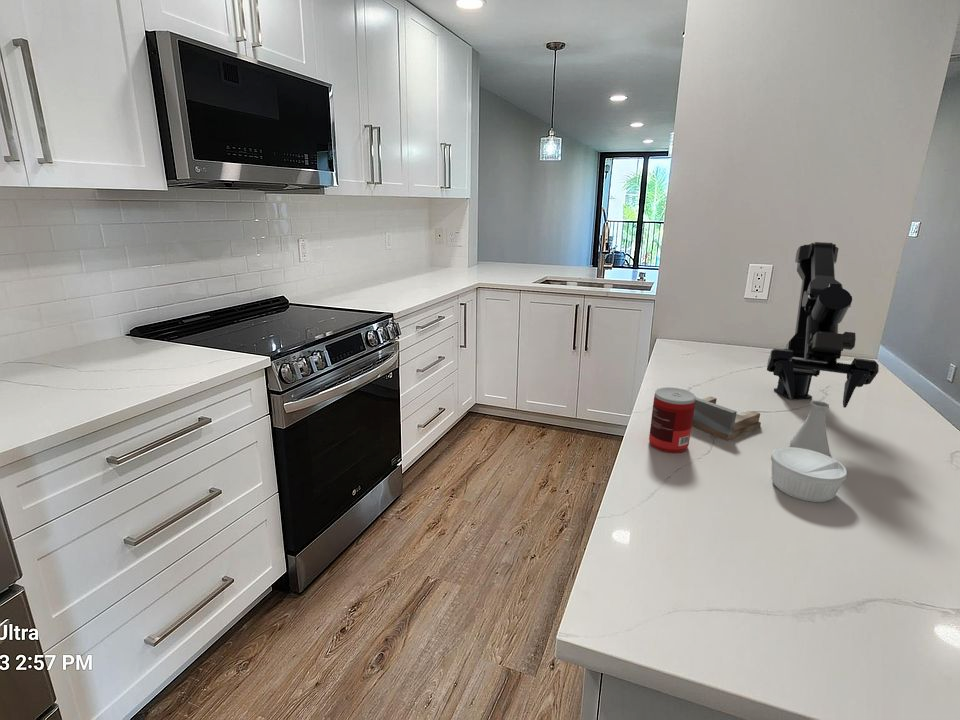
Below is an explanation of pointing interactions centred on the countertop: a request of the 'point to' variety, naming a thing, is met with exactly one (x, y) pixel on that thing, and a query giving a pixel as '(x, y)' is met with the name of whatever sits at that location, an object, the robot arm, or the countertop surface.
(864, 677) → the countertop surface
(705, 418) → the stand
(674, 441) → the canned food
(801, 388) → the robot arm
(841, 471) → the ramekin
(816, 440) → the flask
